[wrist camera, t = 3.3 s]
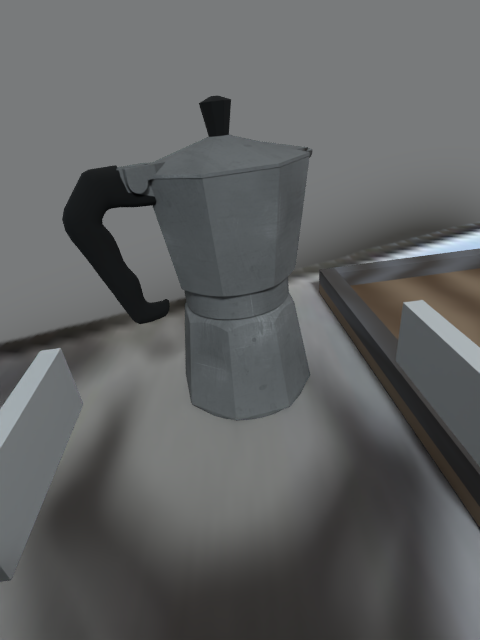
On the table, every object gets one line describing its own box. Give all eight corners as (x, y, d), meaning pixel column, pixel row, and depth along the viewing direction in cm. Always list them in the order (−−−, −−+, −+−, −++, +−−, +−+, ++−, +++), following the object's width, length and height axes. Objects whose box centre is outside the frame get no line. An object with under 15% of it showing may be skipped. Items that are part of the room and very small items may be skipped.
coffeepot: (272, 323, 34) (257, 95, 25) (356, 367, 27) (376, 77, 18) (110, 401, 27) (10, 118, 18) (169, 489, 20) (53, 102, 11)
